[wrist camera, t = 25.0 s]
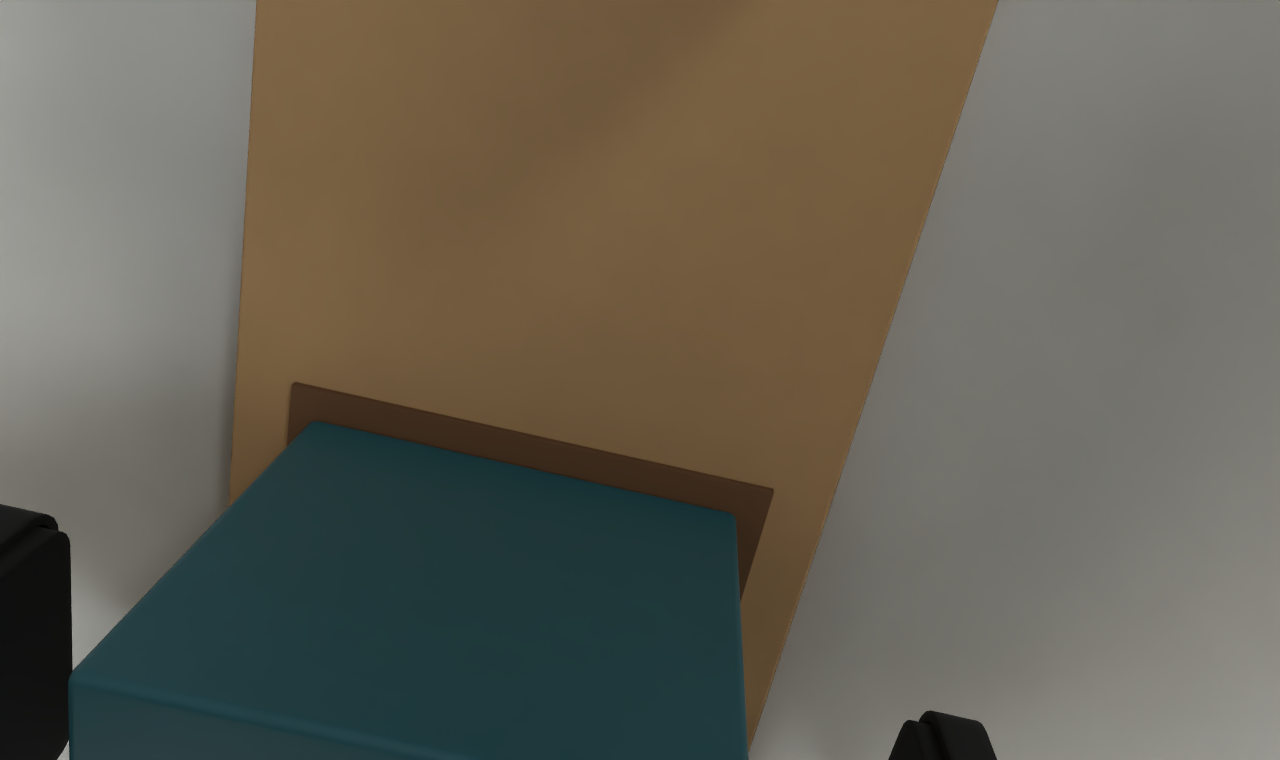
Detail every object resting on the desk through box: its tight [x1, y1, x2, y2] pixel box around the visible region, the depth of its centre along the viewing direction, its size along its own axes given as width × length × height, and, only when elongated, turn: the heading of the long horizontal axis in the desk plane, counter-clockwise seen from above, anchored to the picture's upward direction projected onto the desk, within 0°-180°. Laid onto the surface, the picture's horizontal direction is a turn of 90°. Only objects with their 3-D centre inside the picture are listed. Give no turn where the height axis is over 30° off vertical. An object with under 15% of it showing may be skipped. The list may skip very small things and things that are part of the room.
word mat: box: [228, 0, 998, 752], centre depth 10 cm, size 18×7×1 cm, turn 168°
